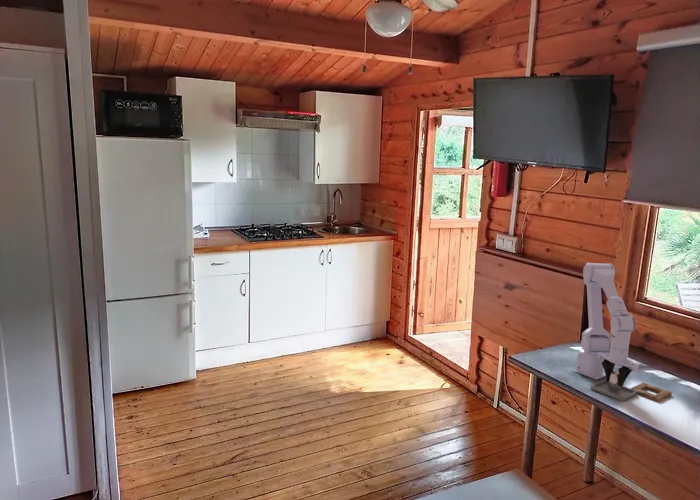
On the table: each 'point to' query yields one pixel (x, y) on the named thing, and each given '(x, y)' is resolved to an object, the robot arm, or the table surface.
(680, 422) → the table surface
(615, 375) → the steel pin
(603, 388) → the tray
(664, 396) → the socket block
